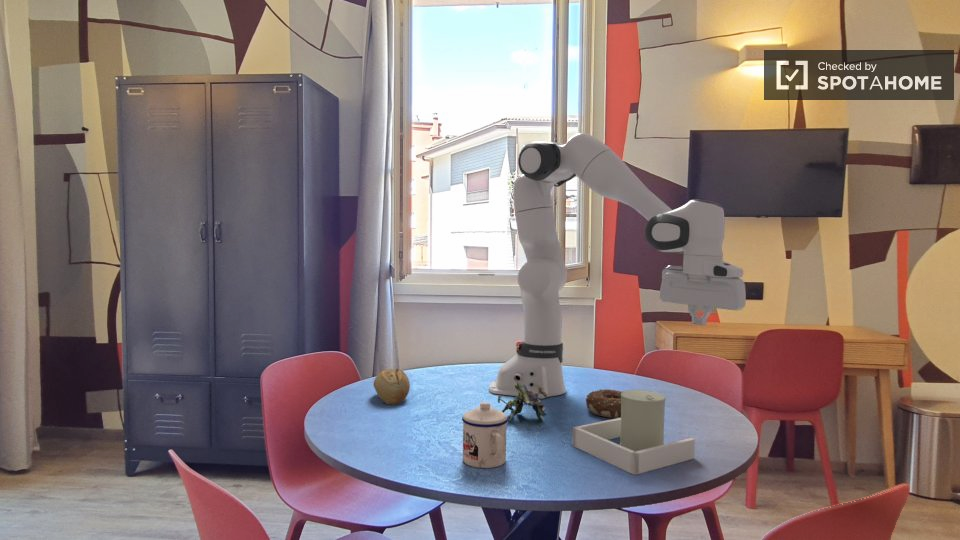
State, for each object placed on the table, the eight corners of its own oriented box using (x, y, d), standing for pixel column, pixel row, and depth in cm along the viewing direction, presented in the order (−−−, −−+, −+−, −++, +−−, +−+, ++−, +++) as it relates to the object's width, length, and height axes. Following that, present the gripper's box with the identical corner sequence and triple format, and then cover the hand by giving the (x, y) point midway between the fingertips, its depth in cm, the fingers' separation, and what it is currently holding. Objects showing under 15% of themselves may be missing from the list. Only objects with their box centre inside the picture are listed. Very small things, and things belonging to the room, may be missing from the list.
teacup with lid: (454, 455, 119) (455, 399, 118) (495, 449, 123) (495, 395, 122) (478, 478, 108) (479, 416, 107) (522, 470, 112) (523, 410, 111)
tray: (629, 432, 134) (629, 415, 134) (694, 458, 119) (694, 439, 119) (572, 445, 126) (572, 427, 125) (634, 475, 110) (635, 454, 110)
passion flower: (538, 442, 143) (559, 411, 136) (498, 438, 139) (517, 406, 133) (528, 406, 152) (547, 375, 145) (489, 401, 148) (507, 369, 142)
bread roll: (402, 390, 169) (402, 363, 169) (415, 404, 155) (415, 375, 155) (369, 393, 166) (369, 365, 166) (379, 407, 152) (379, 377, 152)
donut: (575, 408, 154) (575, 389, 154) (619, 403, 160) (619, 385, 159) (606, 424, 141) (606, 404, 141) (652, 418, 146) (653, 398, 146)
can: (635, 458, 119) (637, 400, 118) (611, 443, 127) (612, 389, 127) (673, 453, 122) (675, 397, 121) (646, 439, 130) (648, 386, 130)
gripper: (656, 264, 145) (653, 319, 146) (738, 270, 130) (734, 332, 131) (669, 264, 150) (666, 318, 150) (750, 270, 135) (746, 329, 136)
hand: (698, 324), depth 141 cm, fingers closed
